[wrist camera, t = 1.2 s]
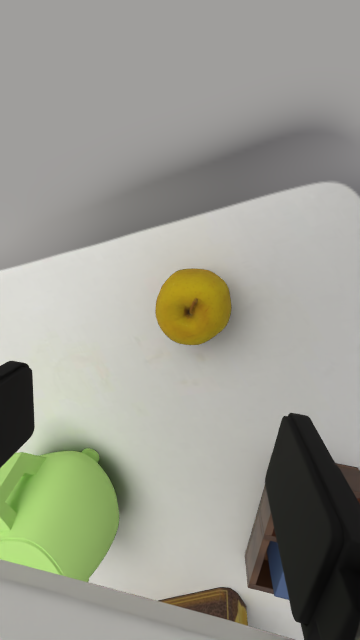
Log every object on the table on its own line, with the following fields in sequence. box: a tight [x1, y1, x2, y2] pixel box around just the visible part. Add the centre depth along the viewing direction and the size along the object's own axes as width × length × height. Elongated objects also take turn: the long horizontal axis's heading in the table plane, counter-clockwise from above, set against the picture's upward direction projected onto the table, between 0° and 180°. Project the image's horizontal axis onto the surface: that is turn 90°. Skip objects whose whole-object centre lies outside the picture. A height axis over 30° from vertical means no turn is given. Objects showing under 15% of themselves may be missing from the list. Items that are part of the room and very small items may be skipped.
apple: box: [156, 269, 231, 345], centre depth 22 cm, size 6×6×8 cm
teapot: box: [0, 448, 119, 582], centre depth 28 cm, size 20×13×13 cm
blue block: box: [267, 541, 289, 600], centre depth 30 cm, size 4×4×4 cm
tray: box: [245, 463, 360, 594], centre depth 30 cm, size 17×9×3 cm, turn 173°
